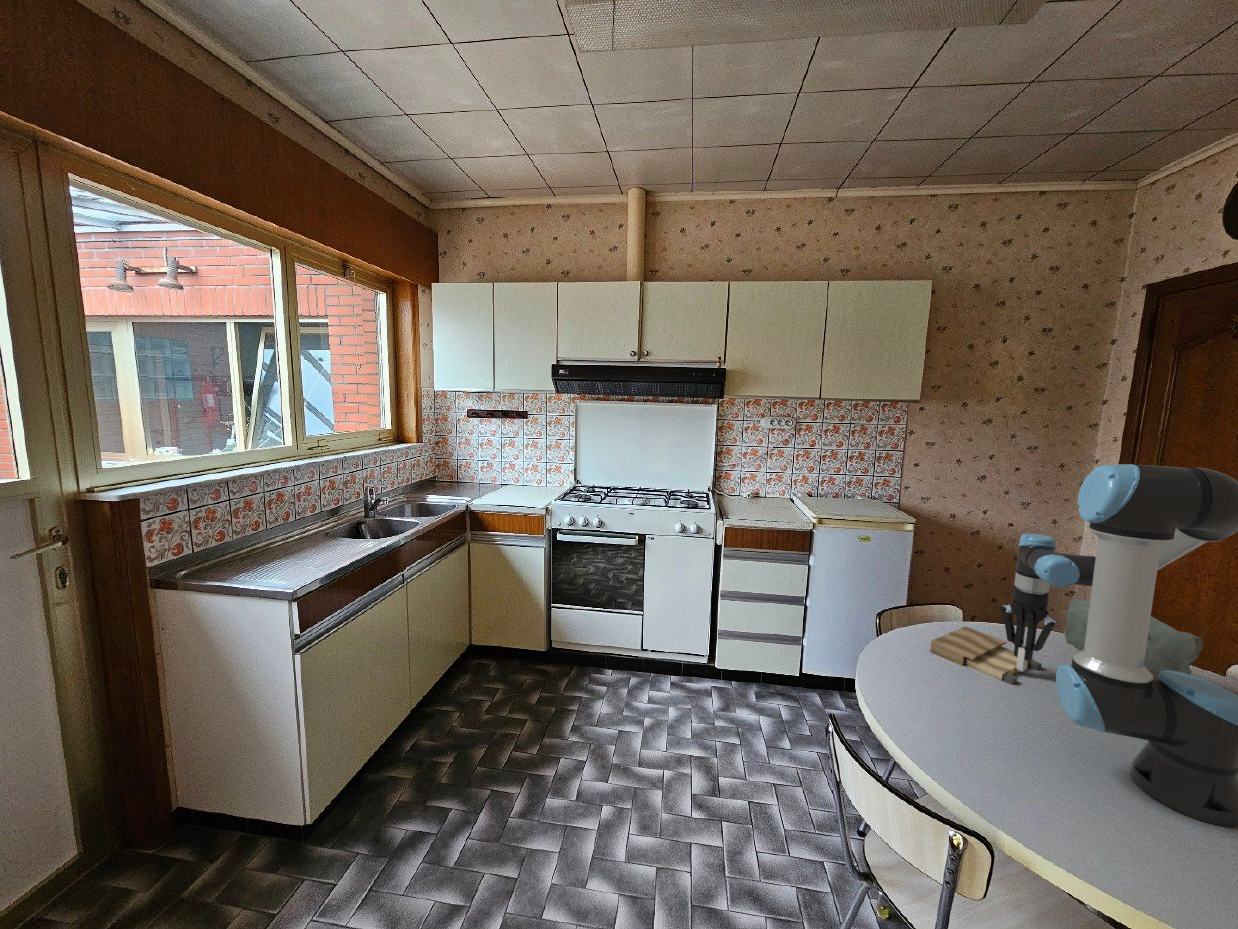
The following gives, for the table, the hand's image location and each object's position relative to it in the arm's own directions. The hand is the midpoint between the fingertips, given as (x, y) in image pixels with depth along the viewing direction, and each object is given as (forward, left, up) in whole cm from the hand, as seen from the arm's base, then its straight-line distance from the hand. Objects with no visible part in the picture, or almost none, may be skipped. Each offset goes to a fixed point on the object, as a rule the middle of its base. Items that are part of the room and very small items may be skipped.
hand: (1021, 669), depth 142 cm
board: (0, +14, -1) cm, 14 cm away
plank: (0, +6, -3) cm, 7 cm away
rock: (+26, -14, -2) cm, 30 cm away
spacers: (0, 0, -1) cm, 1 cm away
